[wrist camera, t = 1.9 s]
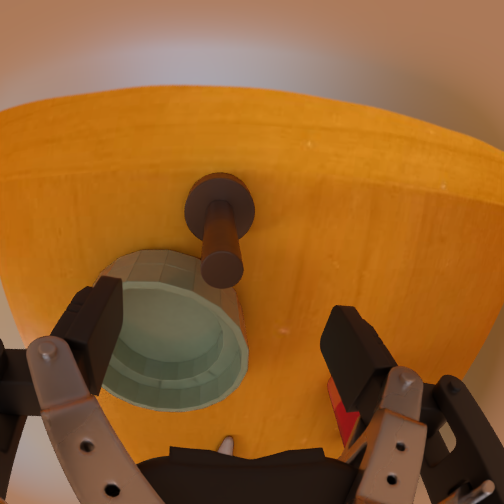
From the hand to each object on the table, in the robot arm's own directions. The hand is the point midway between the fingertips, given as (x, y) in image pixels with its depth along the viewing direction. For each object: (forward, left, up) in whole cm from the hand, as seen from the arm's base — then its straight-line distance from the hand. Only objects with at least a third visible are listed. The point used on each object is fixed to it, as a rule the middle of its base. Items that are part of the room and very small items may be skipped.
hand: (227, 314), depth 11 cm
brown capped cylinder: (0, 0, -15) cm, 15 cm away
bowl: (+6, -11, -15) cm, 19 cm away
